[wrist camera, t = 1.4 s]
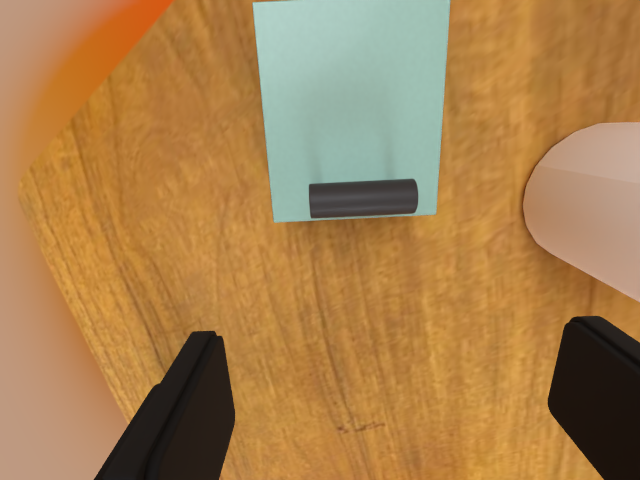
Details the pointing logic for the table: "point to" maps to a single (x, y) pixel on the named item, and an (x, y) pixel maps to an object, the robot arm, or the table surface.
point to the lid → (352, 105)
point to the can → (591, 203)
